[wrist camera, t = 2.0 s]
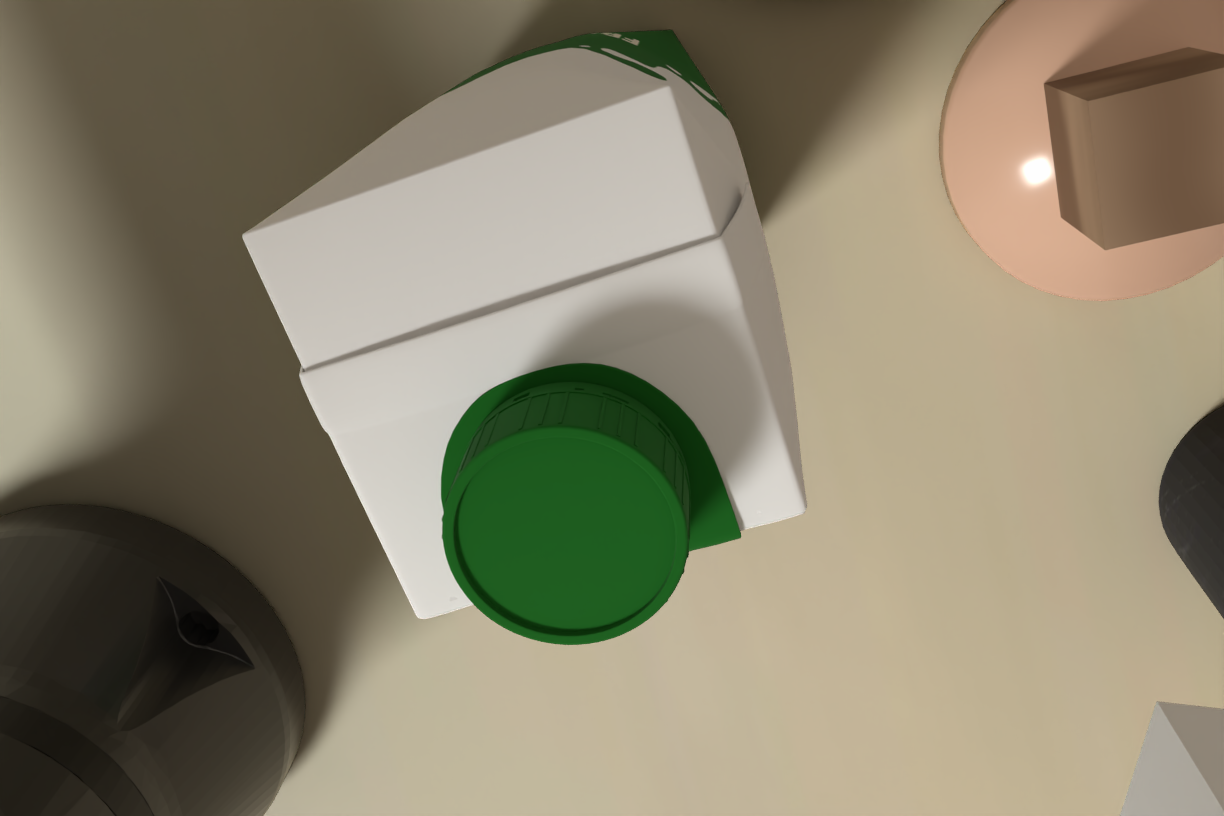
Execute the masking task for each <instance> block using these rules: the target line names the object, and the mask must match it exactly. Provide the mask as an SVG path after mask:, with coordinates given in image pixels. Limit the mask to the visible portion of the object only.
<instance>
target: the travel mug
mask: <svg viewBox="0 0 1224 816" xmlns="http://www.w3.org/2000/svg"><path fill="white" fill-rule="evenodd" d="M1159 509H1160V516H1161V520H1162V524H1163V528H1164V530H1165V532H1166V535H1167V537H1168V539H1169V541H1170V542H1171V544H1172V546H1173V547H1174V549H1175V550H1176V552H1177V553H1178V555H1179V556H1180V558H1181V559H1182V561H1183V562H1184V564H1185V565H1186V567H1187V568H1188V569H1189V571H1190V572H1191V574H1192V575H1193V577H1194V578H1195V579H1196V581H1197V582H1198V584H1199V585H1200V586H1201V588H1202V589H1203V591H1204V592H1205V593H1206V595H1207V596H1208V597H1209V599H1210V600H1211V602H1212V603H1213V604H1214V606H1215V607H1216V609H1217V610H1218V611H1219V613H1220V614H1221V616H1222V617H1223V618H1224V406H1223V407H1221V408H1219V409H1217V410H1215V411H1214V412H1212V413H1211V414H1209V415H1208V416H1207V417H1205V418H1204V419H1203V420H1201V421H1200V422H1199V423H1198V424H1197V425H1196V426H1195V427H1193V428H1192V429H1191V430H1190V431H1189V432H1188V434H1187V435H1186V436H1185V437H1184V438H1183V439H1182V440H1181V442H1180V443H1179V444H1178V446H1177V447H1176V449H1175V450H1174V452H1173V453H1172V455H1171V457H1170V459H1169V461H1168V463H1167V465H1166V468H1165V471H1164V473H1163V476H1162V480H1161V485H1160V491H1159Z"/></svg>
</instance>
